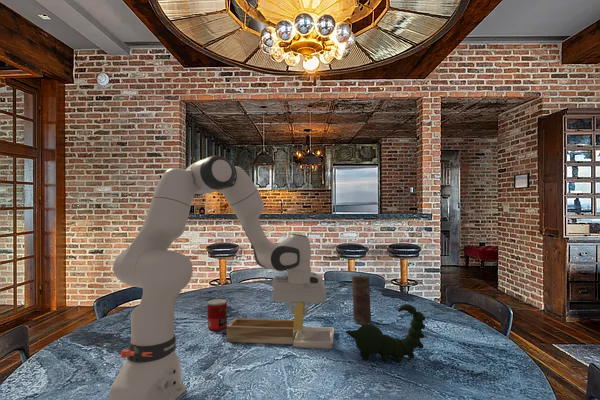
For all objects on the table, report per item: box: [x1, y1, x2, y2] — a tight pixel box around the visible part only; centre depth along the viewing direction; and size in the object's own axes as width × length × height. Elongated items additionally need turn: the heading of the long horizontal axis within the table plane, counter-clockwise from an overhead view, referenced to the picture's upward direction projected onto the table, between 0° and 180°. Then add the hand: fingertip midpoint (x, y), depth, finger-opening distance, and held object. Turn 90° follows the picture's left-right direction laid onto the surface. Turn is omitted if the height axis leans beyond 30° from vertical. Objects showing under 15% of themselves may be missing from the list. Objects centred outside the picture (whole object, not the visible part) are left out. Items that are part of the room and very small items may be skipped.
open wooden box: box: [226, 317, 297, 345], centre depth 135 cm, size 10×25×6 cm, turn 83°
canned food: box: [206, 298, 228, 332], centre depth 146 cm, size 8×8×11 cm
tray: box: [292, 326, 335, 350], centre depth 132 cm, size 16×14×2 cm
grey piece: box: [311, 328, 321, 341], centre depth 132 cm, size 4×4×4 cm
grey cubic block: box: [301, 325, 313, 340], centre depth 133 cm, size 4×4×4 cm
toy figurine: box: [345, 304, 426, 364], centre depth 115 cm, size 9×19×25 cm
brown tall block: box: [351, 275, 372, 326], centre depth 151 cm, size 8×7×20 cm
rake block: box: [293, 302, 306, 330], centre depth 133 cm, size 5×3×10 cm, turn 172°
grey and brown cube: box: [320, 328, 330, 341], centre depth 131 cm, size 4×4×4 cm
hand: (299, 313), depth 132 cm, fingers closed on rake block, 3 cm apart
